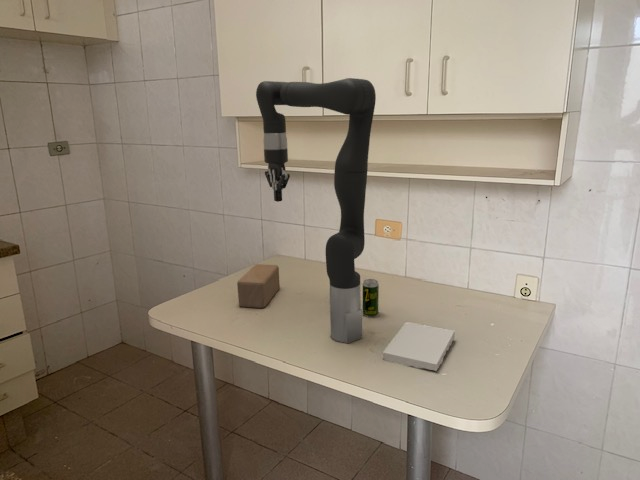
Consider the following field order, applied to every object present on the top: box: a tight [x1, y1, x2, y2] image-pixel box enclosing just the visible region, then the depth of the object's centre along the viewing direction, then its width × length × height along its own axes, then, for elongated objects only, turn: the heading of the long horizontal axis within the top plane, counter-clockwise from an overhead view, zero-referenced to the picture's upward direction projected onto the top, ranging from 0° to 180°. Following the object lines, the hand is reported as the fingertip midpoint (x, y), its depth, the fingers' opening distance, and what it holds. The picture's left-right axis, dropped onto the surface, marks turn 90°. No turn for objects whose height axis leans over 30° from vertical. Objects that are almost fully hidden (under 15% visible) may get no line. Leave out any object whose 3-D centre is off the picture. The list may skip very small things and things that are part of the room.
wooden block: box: [236, 263, 281, 309], centre depth 173 cm, size 10×10×20 cm
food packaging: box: [382, 321, 456, 372], centre depth 134 cm, size 15×3×20 cm
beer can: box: [362, 278, 380, 319], centre depth 156 cm, size 5×5×12 cm
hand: (278, 201), depth 152 cm, fingers closed
